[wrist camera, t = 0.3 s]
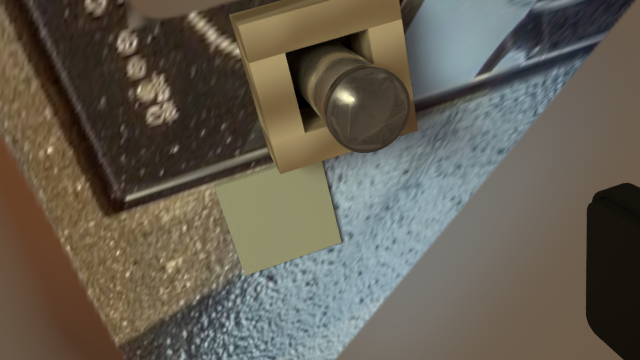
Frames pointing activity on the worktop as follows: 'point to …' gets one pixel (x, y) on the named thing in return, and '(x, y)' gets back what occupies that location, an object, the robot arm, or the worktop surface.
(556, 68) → the worktop surface
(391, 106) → the grey cylindrical piece
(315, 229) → the mat
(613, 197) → the robot arm
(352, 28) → the tan square frame
